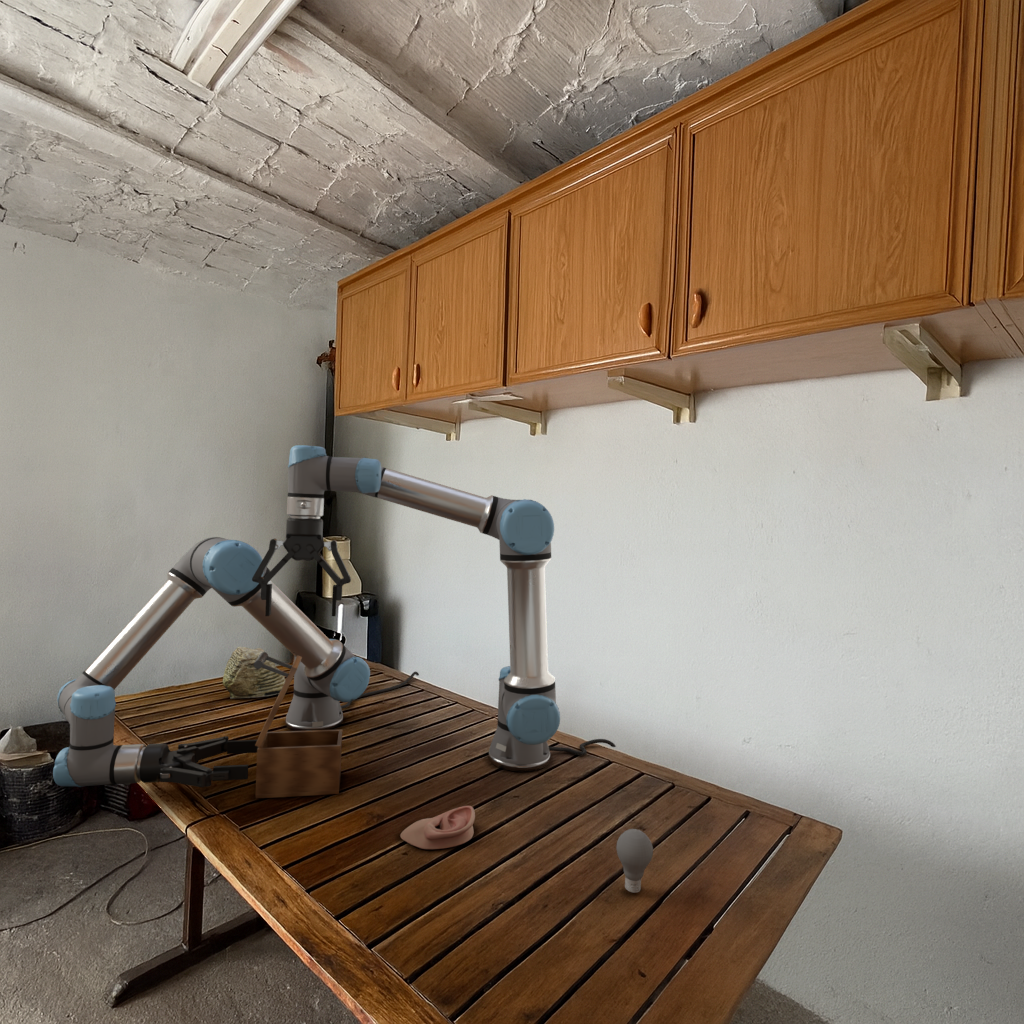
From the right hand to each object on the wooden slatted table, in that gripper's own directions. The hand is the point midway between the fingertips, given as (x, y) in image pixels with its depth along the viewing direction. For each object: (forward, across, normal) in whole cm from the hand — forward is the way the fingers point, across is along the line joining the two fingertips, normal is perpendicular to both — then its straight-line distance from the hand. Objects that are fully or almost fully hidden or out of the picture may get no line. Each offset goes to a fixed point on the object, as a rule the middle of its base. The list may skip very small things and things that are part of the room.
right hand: (301, 615), depth 137 cm
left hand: (+31, -9, 0) cm, 32 cm away
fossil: (+38, -19, +66) cm, 78 cm away
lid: (+19, -3, 0) cm, 19 cm away
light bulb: (+38, +59, -47) cm, 84 cm away
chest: (+37, +1, 0) cm, 37 cm away
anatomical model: (+38, +29, -24) cm, 53 cm away
